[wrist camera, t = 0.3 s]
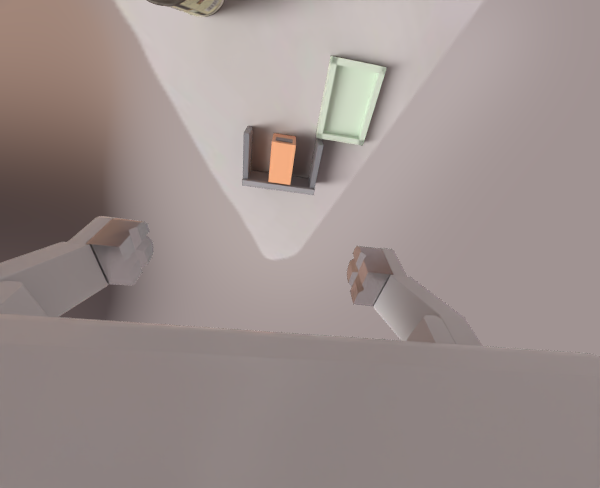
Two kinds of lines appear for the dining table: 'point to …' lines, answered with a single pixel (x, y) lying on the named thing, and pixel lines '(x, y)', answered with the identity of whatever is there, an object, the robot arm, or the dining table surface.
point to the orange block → (282, 158)
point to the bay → (262, 178)
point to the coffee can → (192, 6)
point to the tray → (349, 100)
